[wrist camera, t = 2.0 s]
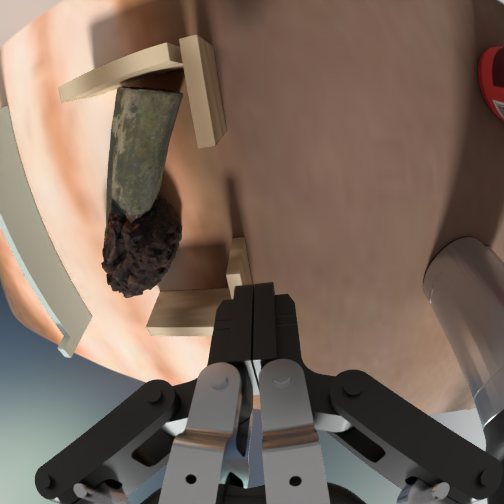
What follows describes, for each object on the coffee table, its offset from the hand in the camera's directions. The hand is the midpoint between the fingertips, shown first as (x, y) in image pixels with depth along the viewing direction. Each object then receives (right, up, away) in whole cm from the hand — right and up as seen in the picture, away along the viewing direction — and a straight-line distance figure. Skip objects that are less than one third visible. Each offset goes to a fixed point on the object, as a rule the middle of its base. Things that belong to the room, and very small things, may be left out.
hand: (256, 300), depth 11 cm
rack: (-23, +5, +12) cm, 27 cm away
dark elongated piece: (-9, +7, +11) cm, 16 cm away
